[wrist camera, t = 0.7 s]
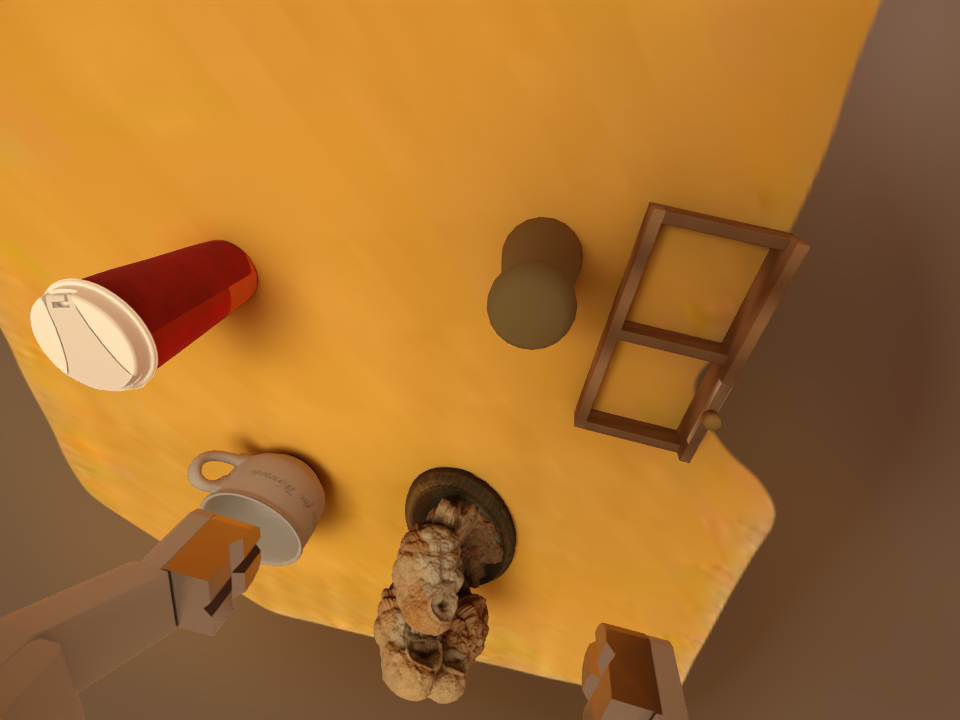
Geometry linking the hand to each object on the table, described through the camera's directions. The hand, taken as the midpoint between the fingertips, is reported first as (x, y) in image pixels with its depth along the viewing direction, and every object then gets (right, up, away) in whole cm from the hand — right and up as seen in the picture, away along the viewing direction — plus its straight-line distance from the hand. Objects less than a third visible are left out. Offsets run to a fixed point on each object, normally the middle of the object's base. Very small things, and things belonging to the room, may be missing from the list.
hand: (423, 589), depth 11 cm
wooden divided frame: (+16, +7, +25) cm, 31 cm away
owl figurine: (-1, -13, +41) cm, 43 cm away
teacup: (-21, -6, +41) cm, 46 cm away
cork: (+6, +13, +24) cm, 28 cm away
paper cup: (-21, +13, +30) cm, 39 cm away
